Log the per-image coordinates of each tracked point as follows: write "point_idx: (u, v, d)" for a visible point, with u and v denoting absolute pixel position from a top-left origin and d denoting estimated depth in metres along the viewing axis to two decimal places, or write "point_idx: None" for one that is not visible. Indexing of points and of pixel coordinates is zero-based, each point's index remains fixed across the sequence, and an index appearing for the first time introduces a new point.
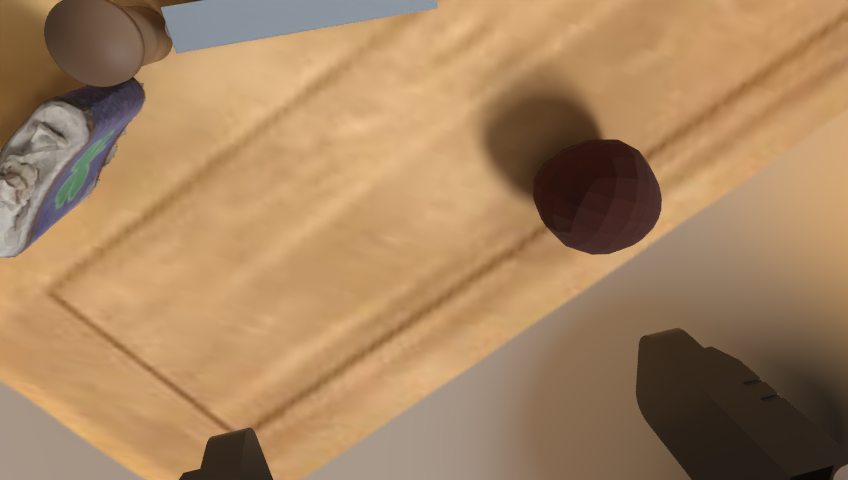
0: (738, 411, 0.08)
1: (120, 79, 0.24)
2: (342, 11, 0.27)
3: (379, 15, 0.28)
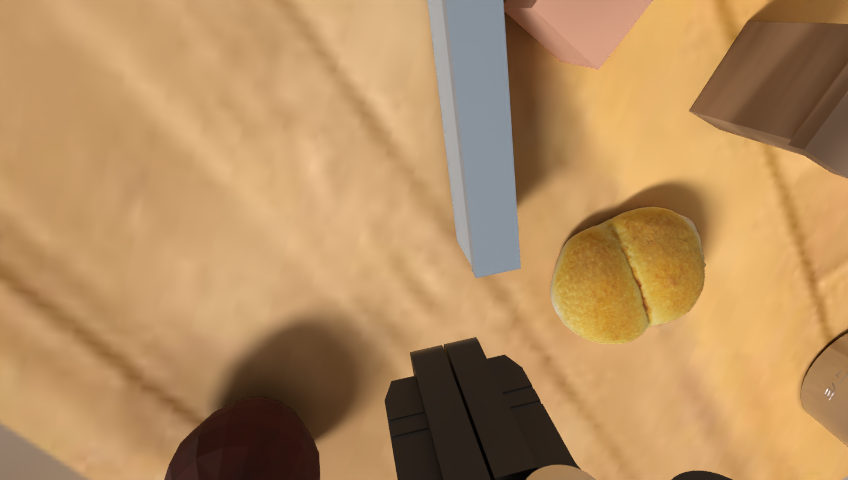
0: (483, 417, 0.09)
1: None
2: (479, 172, 0.22)
3: (472, 215, 0.23)
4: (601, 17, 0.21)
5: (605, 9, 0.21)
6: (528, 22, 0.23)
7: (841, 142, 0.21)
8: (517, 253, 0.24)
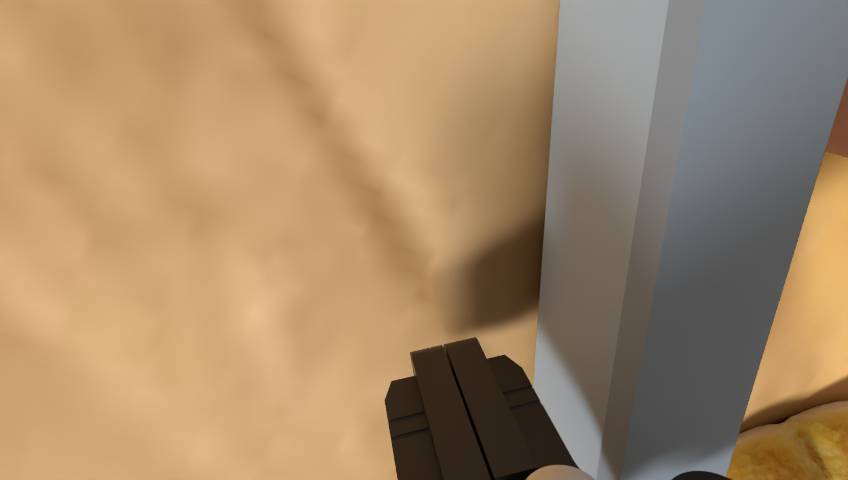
0: (484, 416, 0.09)
1: None
2: (663, 422, 0.09)
3: None
4: None
5: None
6: None
7: None
8: None
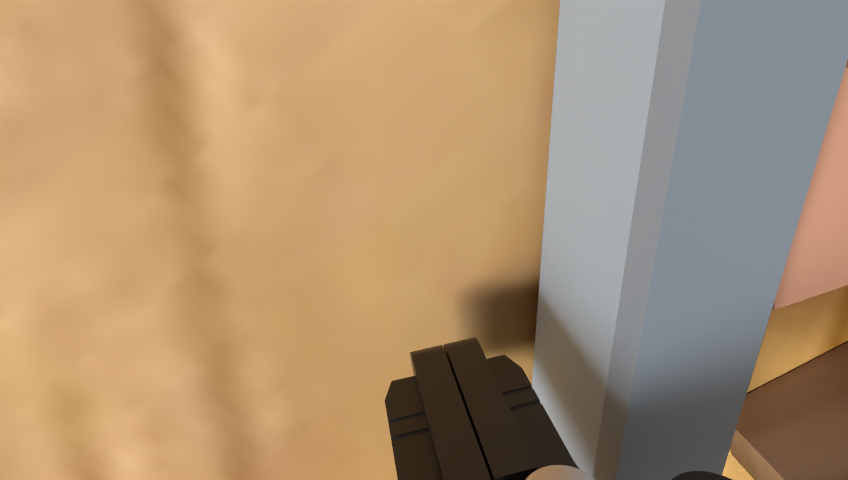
0: (483, 417, 0.09)
1: None
2: (658, 422, 0.09)
3: None
4: None
5: None
6: None
7: None
8: None
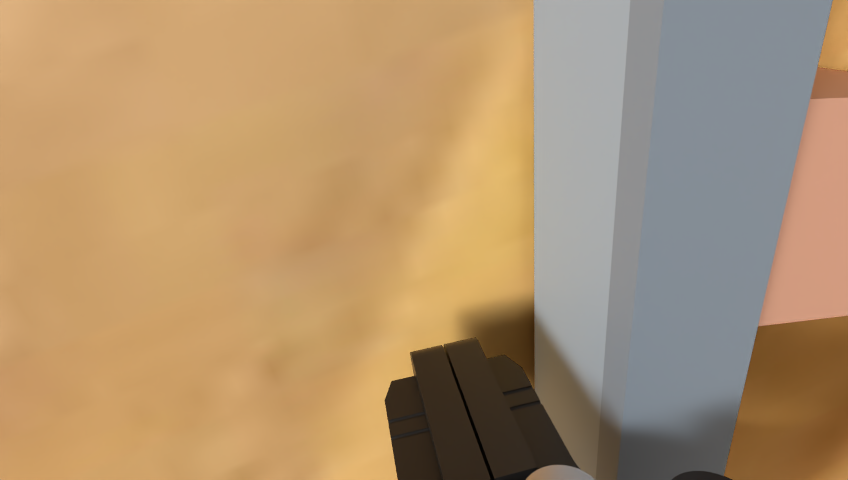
0: (483, 417, 0.09)
1: None
2: (655, 423, 0.09)
3: None
4: (815, 254, 0.09)
5: (832, 250, 0.09)
6: None
7: None
8: None
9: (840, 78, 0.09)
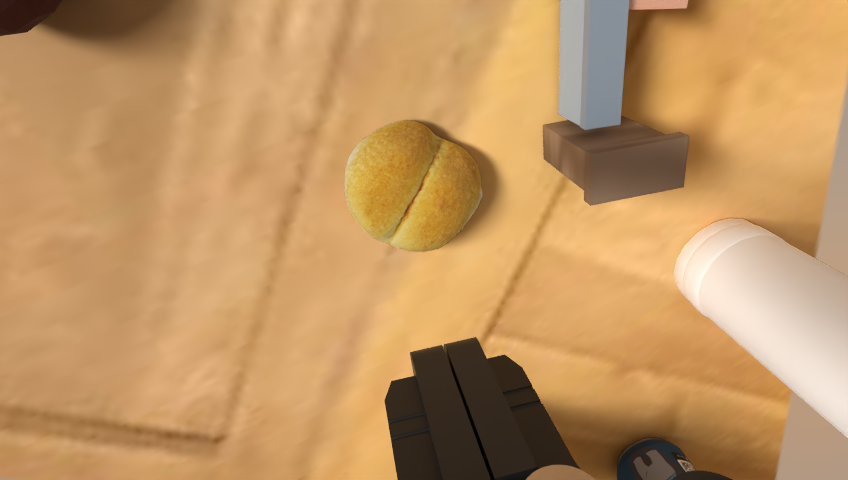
0: (484, 416, 0.09)
1: None
2: (599, 35, 0.28)
3: (589, 73, 0.29)
4: None
5: None
6: None
7: (607, 175, 0.28)
8: (619, 110, 0.30)
9: None
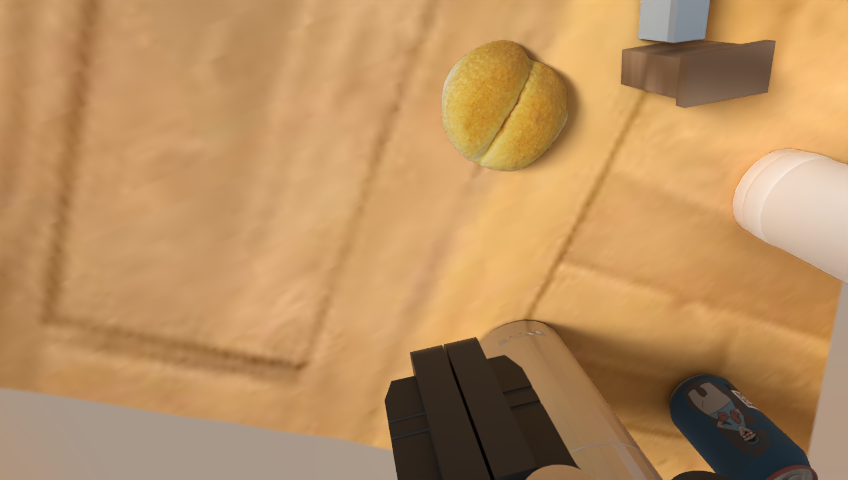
0: (484, 417, 0.09)
1: None
2: None
3: None
4: None
5: None
6: None
7: (701, 78, 0.30)
8: (705, 24, 0.32)
9: None
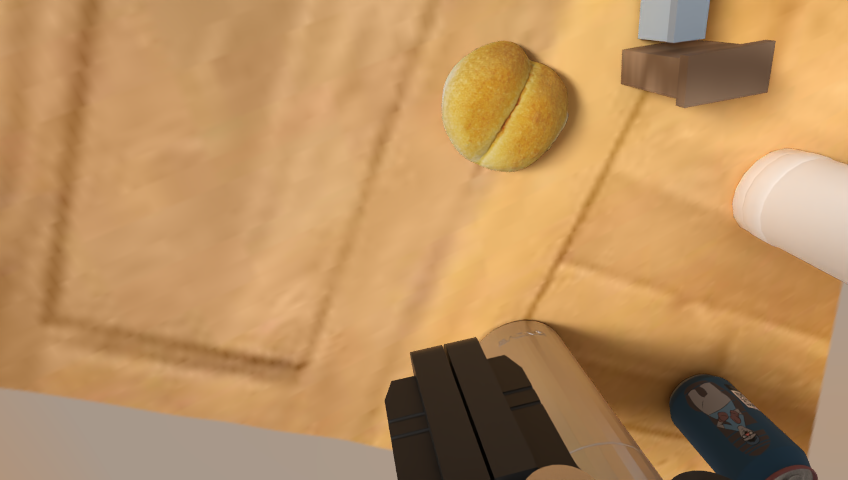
0: (484, 417, 0.09)
1: None
2: None
3: None
4: None
5: None
6: None
7: (701, 78, 0.30)
8: (705, 24, 0.32)
9: None
